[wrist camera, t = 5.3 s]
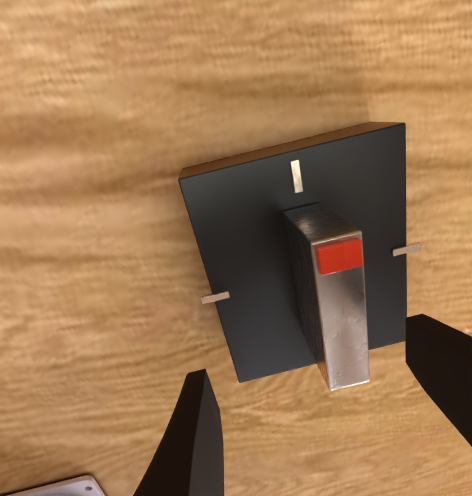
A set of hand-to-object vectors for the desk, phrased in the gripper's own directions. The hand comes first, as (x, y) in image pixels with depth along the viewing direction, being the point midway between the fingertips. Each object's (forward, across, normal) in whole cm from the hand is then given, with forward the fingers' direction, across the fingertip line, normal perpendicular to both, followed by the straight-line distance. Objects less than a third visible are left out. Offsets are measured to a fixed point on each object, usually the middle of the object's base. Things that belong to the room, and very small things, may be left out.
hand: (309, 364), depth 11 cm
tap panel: (+8, -2, 0) cm, 8 cm away
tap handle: (+5, -2, 0) cm, 6 cm away
